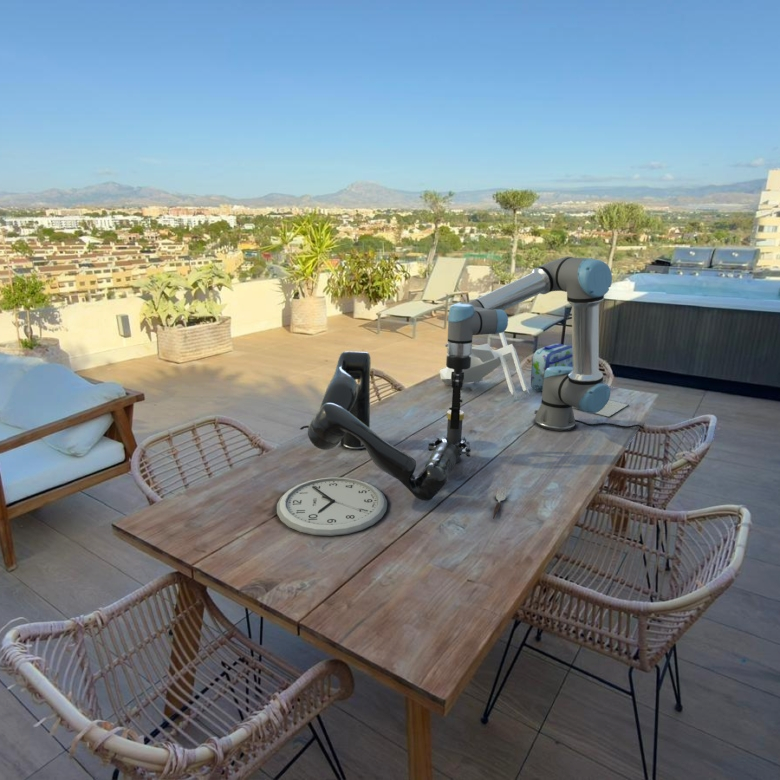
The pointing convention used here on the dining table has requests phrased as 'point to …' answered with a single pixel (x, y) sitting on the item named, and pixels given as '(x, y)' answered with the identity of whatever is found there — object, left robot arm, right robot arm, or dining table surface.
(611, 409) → the invitation card
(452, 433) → the dark grey cylinder
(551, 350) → the lunch box
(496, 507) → the fork
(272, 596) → the dining table surface
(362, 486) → the wall clock
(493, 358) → the white plastic object
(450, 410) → the lid
